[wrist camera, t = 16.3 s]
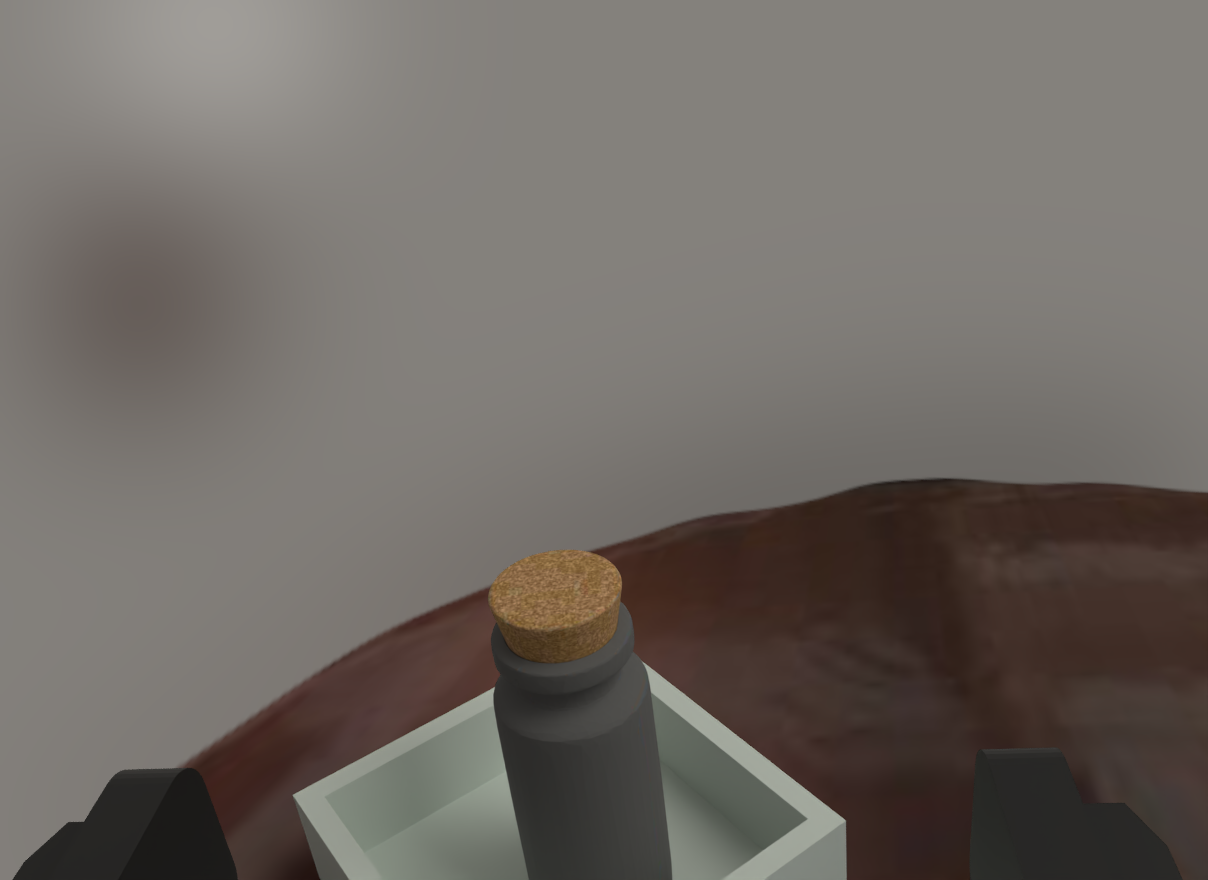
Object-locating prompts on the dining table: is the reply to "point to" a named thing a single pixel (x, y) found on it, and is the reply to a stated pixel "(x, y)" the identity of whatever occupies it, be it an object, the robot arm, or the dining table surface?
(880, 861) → the dining table surface
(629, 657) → the bottle
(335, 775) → the bin
